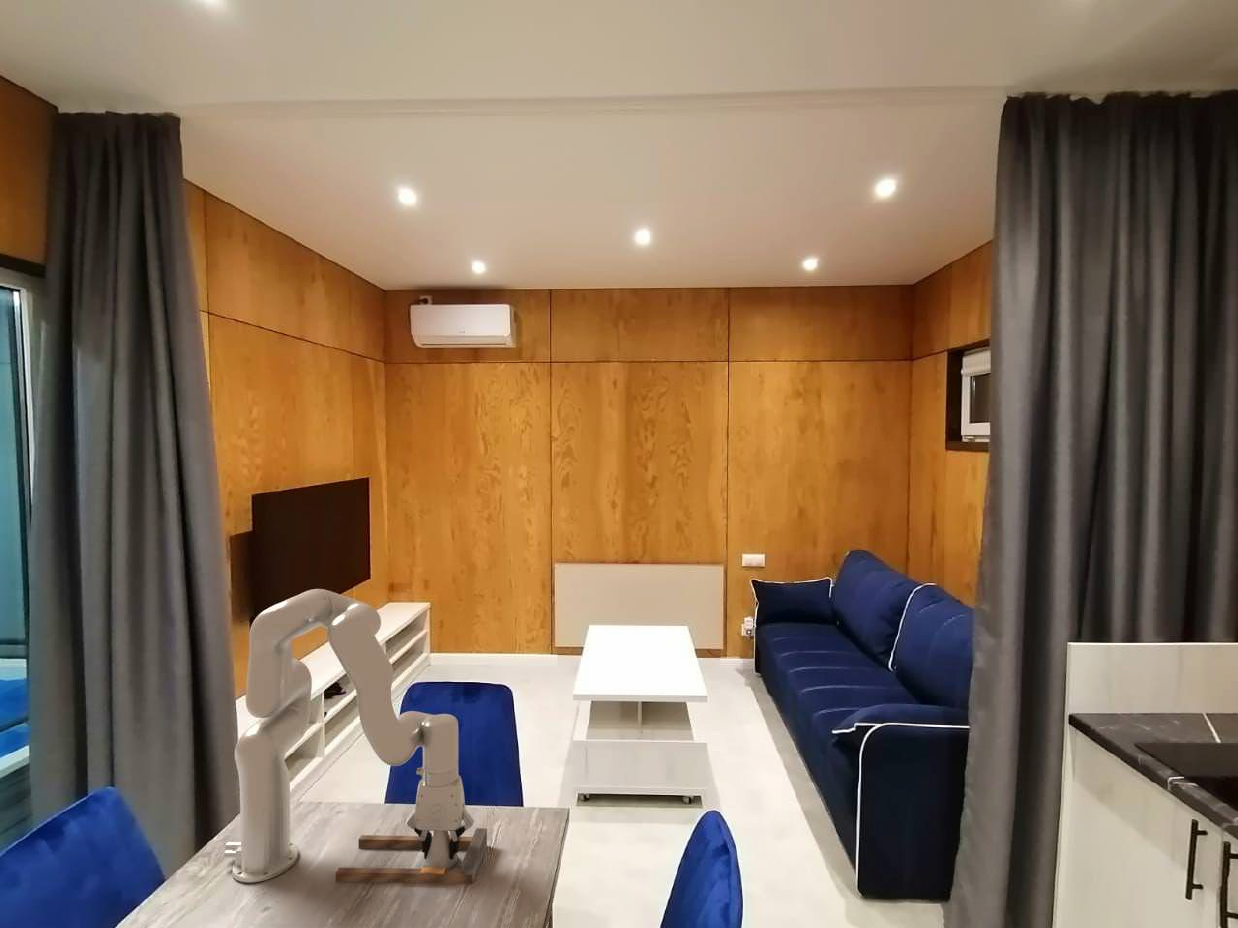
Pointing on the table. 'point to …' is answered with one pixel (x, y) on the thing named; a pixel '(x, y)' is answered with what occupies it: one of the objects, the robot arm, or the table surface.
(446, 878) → the guide channel
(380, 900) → the table surface
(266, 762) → the robot arm
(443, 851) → the flask
